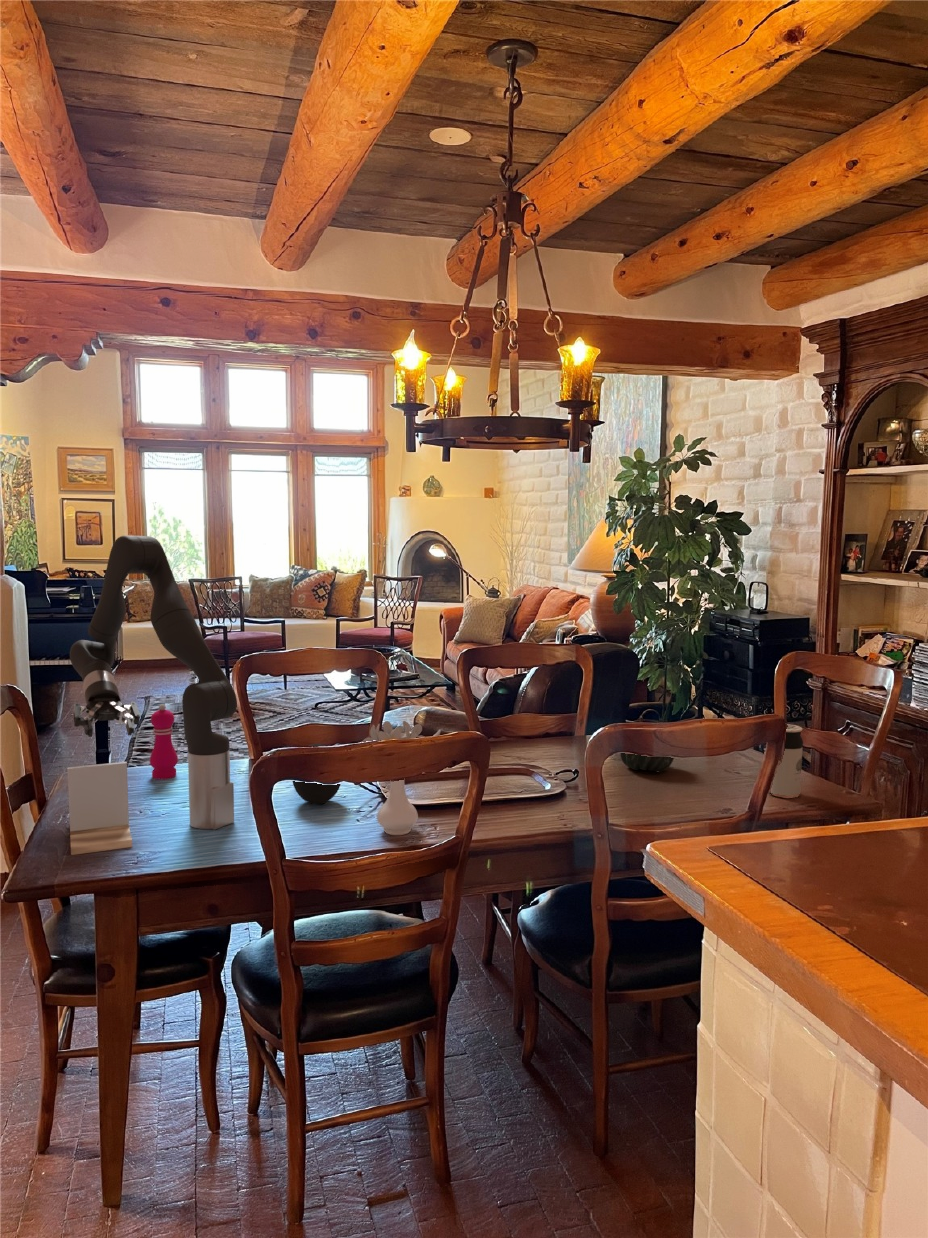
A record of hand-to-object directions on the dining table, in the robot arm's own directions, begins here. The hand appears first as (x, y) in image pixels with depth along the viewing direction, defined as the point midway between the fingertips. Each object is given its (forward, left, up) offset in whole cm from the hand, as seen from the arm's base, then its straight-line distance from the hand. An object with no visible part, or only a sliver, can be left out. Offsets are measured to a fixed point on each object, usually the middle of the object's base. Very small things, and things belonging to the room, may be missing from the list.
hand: (110, 733), depth 200 cm
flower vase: (-58, -31, -22) cm, 69 cm away
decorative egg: (-30, -36, -22) cm, 52 cm away
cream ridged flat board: (-3, +6, -21) cm, 23 cm away
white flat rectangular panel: (-5, +8, -19) cm, 21 cm away
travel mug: (-129, -105, -22) cm, 168 cm away
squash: (-91, -109, -22) cm, 144 cm away
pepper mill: (+20, -32, -22) cm, 43 cm away
